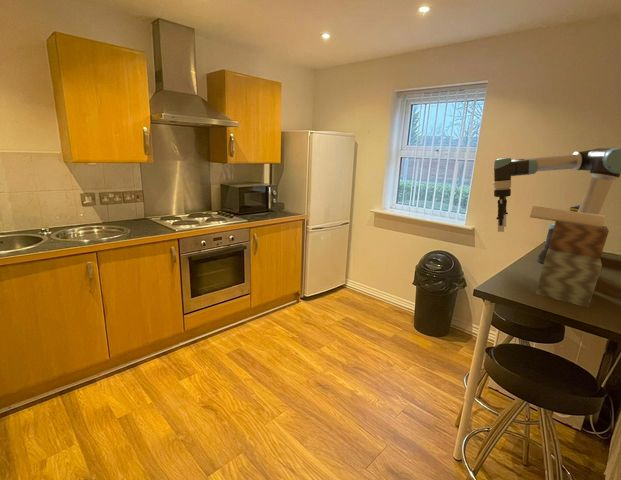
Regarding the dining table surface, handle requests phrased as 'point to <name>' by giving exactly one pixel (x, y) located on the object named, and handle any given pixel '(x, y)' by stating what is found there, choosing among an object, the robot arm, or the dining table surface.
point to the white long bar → (568, 216)
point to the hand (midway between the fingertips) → (502, 229)
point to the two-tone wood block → (572, 263)
